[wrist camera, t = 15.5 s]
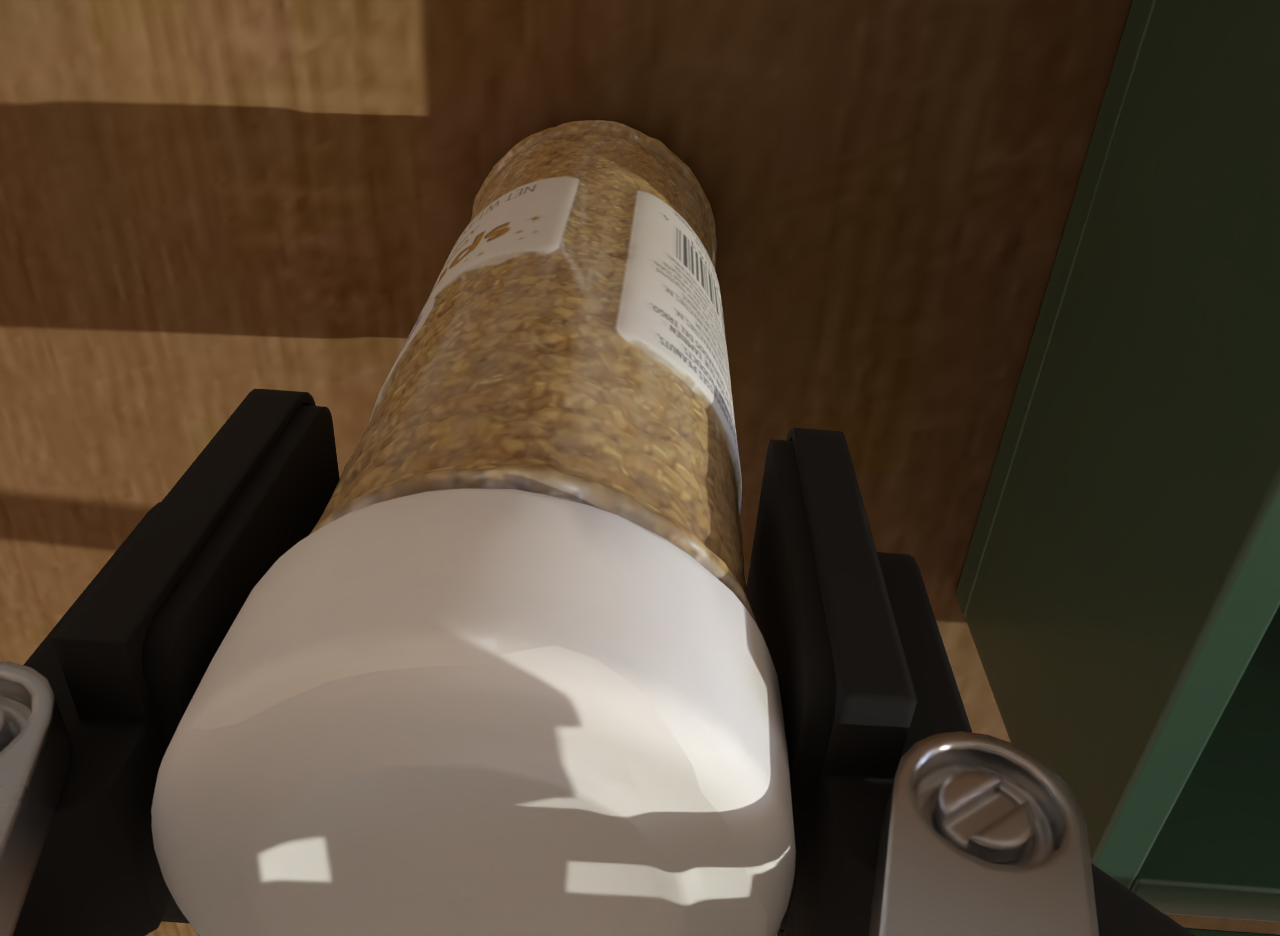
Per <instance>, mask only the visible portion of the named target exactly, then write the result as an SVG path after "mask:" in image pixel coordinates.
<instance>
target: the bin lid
mask: <svg viewBox="0 0 1280 936" xmlns="http://www.w3.org/2000/svg"><path fill="white" fill-rule="evenodd" d="M1185 929H1186V930H1188V931H1189V932H1191V933H1192V934H1193V935H1195V936H1280V935H1275V934H1262V933H1248V932H1234V931H1221V930H1207V929H1193V928H1185Z"/></svg>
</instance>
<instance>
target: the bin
mask: <svg viewBox="0 0 1280 936" xmlns="http://www.w3.org/2000/svg"><path fill="white" fill-rule="evenodd" d="M956 596H957V599H958V601H959V604H960V607H961V610H962V612H963V615H964V616H965V618H966V621H967V624H968V626H969V629H970V632H971V635H972V637H973V640H974V643H975V645H976V648H977V651H978V654H979V656H980V659H981V662H982V665H983V667H984V670H985V673H986V676H987V678H988V681H989V684H990V686H991V689H992V692H993V695H994V697H995V700H996V703H997V706H998V708H999V711H1000V714H1001V716H1002V719H1003V722H1004V725H1005V727H1006V730H1007V733H1008V736H1009V738H1010V741H1011V743H1012V744H1015V745H1017V746H1019V747H1020V748H1022V749H1024V750H1025V751H1027V752H1029V753H1030V754H1032V755H1034V756H1035V757H1037V758H1039V759H1040V760H1042V761H1043V762H1044V763H1045V764H1046V765H1048V766H1049V767H1050V768H1051V769H1052V770H1053V771H1054V772H1055V773H1056V774H1057V775H1058V776H1060V777H1061V778H1062V779H1063V780H1064V781H1065V783H1066V784H1067V786H1068V787H1069V789H1070V790H1071V792H1072V793H1073V795H1074V796H1075V798H1076V799H1077V800H1078V802H1079V803H1080V806H1081V810H1082V813H1083V816H1084V819H1085V823H1086V826H1087V832H1088V841H1089V849H1090V858H1091V863H1092V864H1093V865H1095V866H1096V867H1098V868H1099V869H1101V870H1102V871H1103V872H1105V873H1106V874H1108V875H1109V876H1111V877H1112V878H1113V879H1115V880H1116V881H1118V882H1119V883H1121V884H1122V885H1123V886H1125V887H1126V888H1128V889H1129V890H1131V891H1132V892H1133V893H1135V894H1136V895H1138V896H1139V897H1141V898H1142V899H1143V900H1145V901H1146V902H1148V903H1149V904H1151V905H1152V906H1153V907H1155V908H1156V909H1158V910H1159V911H1161V912H1162V913H1163V914H1170V915H1184V916H1198V917H1211V918H1225V919H1239V920H1252V921H1266V922H1280V0H1133V1H1132V4H1131V8H1130V11H1129V14H1128V18H1127V21H1126V25H1125V28H1124V31H1123V35H1122V38H1121V41H1120V45H1119V48H1118V51H1117V55H1116V58H1115V61H1114V65H1113V68H1112V71H1111V75H1110V78H1109V81H1108V85H1107V88H1106V92H1105V95H1104V98H1103V102H1102V105H1101V108H1100V112H1099V115H1098V118H1097V122H1096V125H1095V128H1094V132H1093V135H1092V138H1091V142H1090V145H1089V148H1088V152H1087V155H1086V158H1085V162H1084V165H1083V169H1082V172H1081V175H1080V179H1079V182H1078V185H1077V189H1076V192H1075V195H1074V199H1073V202H1072V205H1071V209H1070V212H1069V215H1068V219H1067V222H1066V225H1065V229H1064V232H1063V236H1062V239H1061V242H1060V246H1059V249H1058V252H1057V256H1056V259H1055V262H1054V266H1053V269H1052V272H1051V276H1050V279H1049V282H1048V286H1047V289H1046V292H1045V296H1044V299H1043V303H1042V306H1041V309H1040V313H1039V316H1038V319H1037V323H1036V326H1035V329H1034V333H1033V336H1032V339H1031V343H1030V346H1029V349H1028V353H1027V356H1026V359H1025V363H1024V366H1023V370H1022V373H1021V376H1020V380H1019V383H1018V386H1017V390H1016V393H1015V396H1014V400H1013V403H1012V406H1011V410H1010V413H1009V416H1008V420H1007V423H1006V426H1005V430H1004V433H1003V437H1002V440H1001V443H1000V447H999V450H998V453H997V457H996V460H995V463H994V467H993V470H992V473H991V477H990V480H989V483H988V487H987V490H986V493H985V497H984V500H983V504H982V507H981V510H980V514H979V517H978V520H977V524H976V527H975V530H974V534H973V537H972V540H971V544H970V547H969V550H968V554H967V557H966V560H965V564H964V567H963V570H962V574H961V577H960V581H959V584H958V587H957V591H956Z"/></svg>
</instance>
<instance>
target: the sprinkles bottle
mask: <svg viewBox="0 0 1280 936" xmlns="http://www.w3.org/2000/svg"><path fill="white" fill-rule="evenodd" d="M716 252H717V239H716V229H715V220H714V215H713V212H712V209H711V206H710V203H709V200H708V199H707V197H706V195H705V194H704V192H703V189H702V187H701V185H700V183H699V182H698V180H697V178H696V177H695V176H694V174H693V172H692V171H691V169H690V168H689V167H688V166H687V165H686V164H685V163H683V162H682V161H681V160H680V158H679V157H678V156H677V155H675V154H674V153H673V152H672V151H670V150H669V149H668V148H667V147H666V146H665V145H664V144H663V143H662V142H661V141H659V140H658V139H655V138H652V137H649V136H647V135H645V134H643V133H642V132H640V131H638V130H635V129H632V128H630V127H628V126H626V125H625V124H621V123H618V122H614V121H607V120H584V121H574V122H568V123H564V124H561V125H559V126H557V127H551V128H547V129H545V130H542V131H540V132H538V133H535V134H532V135H530V136H528V137H526V138H525V139H523V140H522V141H520V142H519V143H517V144H516V145H515V146H513V147H512V148H511V149H510V150H509V151H508V152H507V153H506V155H505V156H504V157H502V158H501V159H500V160H499V161H498V162H497V163H496V164H495V165H494V167H493V168H492V170H491V171H490V173H489V174H488V176H487V177H486V179H485V181H484V182H483V184H482V186H481V188H480V190H479V192H478V193H477V195H476V197H475V200H474V204H473V212H472V218H471V221H470V223H469V225H468V226H467V227H466V229H465V230H464V231H463V233H462V234H461V236H460V237H459V239H458V240H457V242H456V243H455V245H454V247H453V249H452V251H451V253H450V255H449V257H448V259H447V261H446V263H445V265H444V267H443V269H442V271H441V273H440V275H439V277H438V279H437V281H436V283H435V285H434V287H433V289H432V292H431V294H430V296H429V298H428V300H427V302H426V304H425V306H424V308H423V310H422V312H421V313H420V315H419V317H418V319H417V321H416V323H415V325H414V327H413V329H412V331H411V333H410V334H409V336H408V338H407V340H406V342H405V344H404V346H403V348H402V350H401V352H400V354H399V356H398V358H397V360H396V362H395V363H394V365H393V367H392V369H391V371H390V373H389V375H388V377H387V379H386V381H385V383H384V385H383V387H382V388H381V390H380V392H379V395H378V397H377V400H376V403H375V406H374V409H373V412H372V414H371V417H370V420H369V425H368V428H367V429H366V431H365V433H364V435H363V437H362V439H361V441H360V443H359V445H358V446H357V448H356V450H355V451H354V453H353V455H352V456H351V458H350V459H349V461H348V462H347V464H346V466H345V468H344V470H343V473H342V475H341V478H340V480H339V482H338V484H337V486H336V488H335V490H334V493H333V495H332V497H331V499H330V501H329V503H328V505H327V506H326V508H325V510H324V513H323V515H322V516H321V518H320V520H319V521H318V523H317V524H316V526H315V527H314V529H313V530H312V532H311V533H310V535H309V536H307V537H306V538H304V539H303V540H301V541H300V542H298V543H297V544H296V545H294V546H293V547H292V548H291V549H290V550H288V551H287V552H286V553H285V554H283V555H282V556H281V557H280V558H279V559H278V560H277V561H276V562H275V563H274V564H273V566H272V567H271V568H270V569H269V570H268V571H267V573H266V574H265V575H264V576H263V577H262V578H261V580H260V581H259V582H258V583H257V584H256V586H255V587H254V588H253V589H252V591H251V593H250V594H249V596H248V598H247V600H246V601H245V603H244V605H243V607H242V608H241V610H240V612H239V613H238V615H237V617H236V619H235V620H234V622H233V624H232V626H231V627H230V629H229V631H228V633H227V634H226V636H225V638H224V640H223V641H222V643H221V645H220V647H219V648H218V650H217V652H216V654H215V655H214V657H213V659H212V661H211V663H210V665H209V667H208V669H207V670H206V672H205V674H204V676H203V678H202V680H201V682H200V684H199V686H198V688H197V690H196V692H195V694H194V696H193V698H192V700H191V702H190V703H189V705H188V707H187V709H186V711H185V713H184V715H183V717H182V719H181V721H180V723H179V725H178V727H177V730H176V732H175V734H174V736H173V738H172V740H171V742H170V744H169V746H168V748H167V750H166V753H165V755H164V757H163V759H162V762H161V765H160V768H159V771H158V775H157V781H156V786H155V791H154V796H153V802H152V809H151V814H152V825H151V827H152V835H153V843H154V850H155V853H156V856H157V859H158V862H159V865H160V869H161V872H162V875H163V878H164V880H165V883H166V885H167V887H168V889H169V891H170V893H171V894H172V896H173V898H174V900H175V902H176V904H177V905H178V907H179V908H180V910H181V911H182V913H183V914H184V916H185V917H186V918H187V920H188V921H189V922H190V924H191V925H192V926H193V928H194V929H195V930H196V932H197V933H198V934H199V936H775V935H776V933H777V932H778V930H779V928H780V925H781V922H782V919H783V917H784V915H785V912H786V910H787V907H788V903H789V899H790V895H791V891H792V887H793V881H794V875H795V857H796V848H795V836H794V824H793V812H792V799H791V786H790V773H789V760H788V749H787V741H786V733H785V724H784V716H783V709H782V702H781V695H780V689H779V683H778V676H777V673H776V670H775V667H774V664H773V661H772V658H771V655H770V653H769V650H768V648H767V645H766V643H765V640H764V638H763V636H762V634H761V632H760V630H759V628H758V626H757V624H756V620H755V617H754V614H753V612H752V609H751V606H750V604H749V601H748V599H747V587H746V582H745V578H744V559H743V551H742V533H741V521H740V510H741V496H742V476H741V467H740V459H739V451H738V444H737V436H736V428H735V420H734V411H733V401H732V391H731V381H730V372H729V363H728V355H727V346H726V336H725V326H724V317H723V309H722V302H721V294H720V287H719V282H718V279H717V275H716V272H715V265H716Z"/></svg>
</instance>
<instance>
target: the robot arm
mask: <svg viewBox="0 0 1280 936" xmlns="http://www.w3.org/2000/svg"><path fill="white" fill-rule="evenodd" d="M339 480H340V479H339V471H338V463H337V454H336V446H335V438H334V429H333V421H332V416H331V413H330V410H329V409H328V408H327V407H320V406H316V405H315V402H314V399H313V397H312V396H311V395H310V394H309V393H308V392H295V391H281V390H267V389H254V390H252V391H251V392H250V393H249V394H248V395H247V397H246V398H245V399H244V400H243V402H242V403H241V404H240V405H239V407H238V408H237V409H236V410H235V411H234V413H233V414H232V415H231V416H230V418H229V419H228V420H227V421H226V423H225V424H224V425H223V426H222V428H221V429H220V430H219V431H218V433H217V434H216V435H215V436H214V438H213V439H212V440H211V441H210V442H209V444H208V445H207V446H206V447H205V449H204V450H203V451H202V452H201V454H200V455H199V456H198V457H197V459H196V460H195V461H194V462H193V464H192V465H191V466H190V467H189V468H188V470H187V471H186V472H185V473H184V475H183V476H182V477H181V478H180V480H179V481H178V482H177V483H176V485H175V486H174V487H173V488H172V490H171V491H170V492H169V493H168V495H167V496H166V497H165V498H164V499H163V501H162V502H160V503H158V504H157V505H155V506H154V507H153V508H152V509H151V510H150V511H149V512H148V513H147V514H146V515H145V517H144V518H143V519H142V520H141V522H140V523H139V524H138V525H137V526H136V528H135V529H134V530H133V531H132V533H131V534H130V535H129V536H128V538H127V539H126V540H125V541H124V542H123V544H122V545H121V546H120V547H119V549H118V550H117V551H116V552H115V553H114V555H113V556H112V557H111V558H110V560H109V561H108V562H107V563H106V565H105V566H104V567H103V568H102V569H101V571H100V572H99V573H98V574H97V576H96V577H95V578H94V579H93V580H92V582H91V583H90V584H89V585H88V587H87V588H86V589H85V590H84V592H83V593H82V594H81V595H80V596H79V598H78V599H77V600H76V601H75V603H74V604H73V605H72V606H71V607H70V609H69V610H68V611H67V612H66V614H65V615H64V616H63V617H62V619H61V620H60V621H59V622H58V623H57V625H56V626H55V627H54V628H53V630H52V631H51V632H50V633H49V634H48V636H47V637H46V638H45V639H44V641H43V642H42V643H41V644H40V646H39V647H38V648H37V649H36V650H35V652H34V653H33V654H32V655H31V657H30V658H29V659H28V660H27V661H26V663H25V664H24V665H20V664H16V663H12V662H0V936H145V935H147V934H149V933H150V932H152V931H154V930H155V929H157V928H158V927H159V925H160V923H161V921H165V922H178V923H190V922H189V921H188V920H187V918H186V917H185V916H184V914H183V913H182V911H181V910H180V908H179V907H178V905H177V904H176V902H175V900H174V898H173V896H172V894H171V893H170V891H169V889H168V887H167V885H166V883H165V880H164V878H163V875H162V872H161V869H160V865H159V862H158V859H157V856H156V853H155V850H154V843H153V835H152V827H151V825H152V814H151V809H152V802H153V796H154V791H155V786H156V781H157V775H158V771H159V768H160V765H161V762H162V759H163V757H164V755H165V753H166V750H167V748H168V746H169V744H170V742H171V740H172V738H173V736H174V734H175V732H176V730H177V727H178V725H179V723H180V721H181V719H182V717H183V715H184V713H185V711H186V709H187V707H188V705H189V703H190V702H191V700H192V698H193V696H194V694H195V692H196V690H197V688H198V686H199V684H200V682H201V680H202V678H203V676H204V674H205V672H206V670H207V669H208V667H209V665H210V663H211V661H212V659H213V657H214V655H215V654H216V652H217V650H218V648H219V647H220V645H221V643H222V641H223V640H224V638H225V636H226V634H227V633H228V631H229V629H230V627H231V626H232V624H233V622H234V620H235V619H236V617H237V615H238V613H239V612H240V610H241V608H242V607H243V605H244V603H245V601H246V600H247V598H248V596H249V594H250V593H251V591H252V589H253V588H254V587H255V586H256V584H257V583H258V582H259V581H260V580H261V578H262V577H263V576H264V575H265V574H266V573H267V571H268V570H269V569H270V568H271V567H272V566H273V564H274V563H275V562H276V561H277V560H278V559H279V558H280V557H281V556H282V555H283V554H285V553H286V552H287V551H288V550H290V549H291V548H292V547H293V546H294V545H296V544H297V543H298V542H300V541H301V540H303V539H304V538H306V537H307V536H309V535H310V533H311V532H312V530H313V529H314V527H315V526H316V524H317V523H318V521H319V520H320V518H321V516H322V515H323V513H324V510H325V508H326V506H327V505H328V503H329V501H330V499H331V497H332V495H333V493H334V490H335V488H336V486H337V484H338V482H339ZM747 599H748V601H749V604H750V606H751V609H752V612H753V614H754V617H755V620H756V624H757V626H758V628H759V630H760V632H761V634H762V636H763V638H764V640H765V643H766V645H767V648H768V650H769V653H770V655H771V658H772V661H773V664H774V667H775V670H776V673H777V676H778V683H779V689H780V695H781V702H782V709H783V716H784V724H785V733H786V741H787V749H788V760H789V773H790V786H791V799H792V812H793V824H794V836H795V848H796V857H795V875H794V881H793V887H792V891H791V895H790V899H789V903H788V907H787V910H786V912H785V915H784V917H783V919H782V922H781V925H780V928H779V930H778V932H777V936H1195V935H1193V934H1192V933H1191V932H1189V931H1188V930H1186V929H1185V928H1183V927H1182V926H1181V925H1179V924H1178V923H1176V922H1175V921H1173V920H1172V919H1171V918H1169V917H1168V916H1166V915H1165V914H1163V913H1162V912H1161V911H1159V910H1158V909H1156V908H1155V907H1153V906H1152V905H1151V904H1149V903H1148V902H1146V901H1145V900H1143V899H1142V898H1141V897H1139V896H1138V895H1136V894H1135V893H1133V892H1132V891H1131V890H1129V889H1128V888H1126V887H1125V886H1123V885H1122V884H1121V883H1119V882H1118V881H1116V880H1115V879H1113V878H1112V877H1111V876H1109V875H1108V874H1106V873H1105V872H1103V871H1102V870H1101V869H1099V868H1098V867H1096V866H1095V865H1093V864H1092V863H1091V858H1090V849H1089V841H1088V832H1087V826H1086V823H1085V819H1084V816H1083V813H1082V810H1081V806H1080V803H1079V802H1078V800H1077V799H1076V798H1075V796H1074V795H1073V793H1072V792H1071V790H1070V789H1069V787H1068V786H1067V784H1066V783H1065V781H1064V780H1063V779H1062V778H1061V777H1060V776H1058V775H1057V774H1056V773H1055V772H1054V771H1053V770H1052V769H1051V768H1050V767H1049V766H1048V765H1046V764H1045V763H1044V762H1043V761H1042V760H1040V759H1039V758H1037V757H1035V756H1034V755H1032V754H1030V753H1029V752H1027V751H1025V750H1024V749H1022V748H1020V747H1019V746H1017V745H1015V744H1012V743H1009V742H1006V741H1004V740H1001V739H998V738H995V737H992V736H990V735H984V734H977V733H972V730H971V727H970V724H969V721H968V718H967V715H966V712H965V709H964V706H963V703H962V700H961V697H960V694H959V690H958V687H957V684H956V681H955V678H954V675H953V672H952V669H951V666H950V663H949V660H948V657H947V654H946V651H945V647H944V644H943V641H942V638H941V635H940V632H939V629H938V626H937V623H936V620H935V617H934V614H933V611H932V608H931V605H930V601H929V598H928V595H927V592H926V589H925V586H924V583H923V580H922V577H921V574H920V571H919V568H918V566H917V563H916V561H915V559H914V558H913V557H912V556H910V555H907V554H893V553H879V552H876V548H875V545H874V541H873V537H872V534H871V530H870V526H869V523H868V519H867V515H866V512H865V508H864V504H863V501H862V497H861V493H860V490H859V486H858V483H857V479H856V475H855V472H854V468H853V464H852V461H851V457H850V453H849V450H848V446H847V442H846V439H845V436H844V433H843V432H841V431H828V430H815V429H801V428H791V429H790V431H789V434H788V437H787V441H785V440H772V439H771V440H770V442H769V446H768V451H767V457H766V464H765V470H764V477H763V483H762V490H761V497H760V503H759V510H758V516H757V523H756V529H755V536H754V542H753V549H752V555H751V562H750V569H749V575H748V582H747Z"/></svg>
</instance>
